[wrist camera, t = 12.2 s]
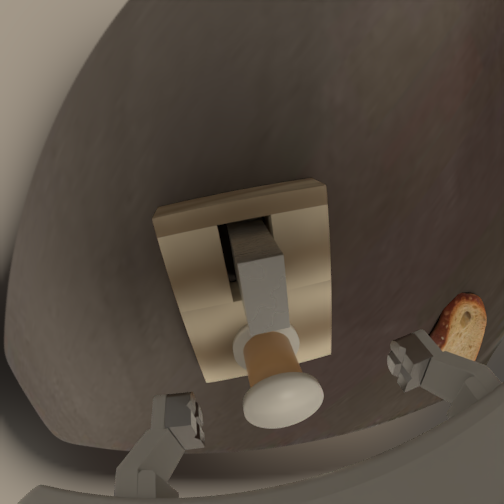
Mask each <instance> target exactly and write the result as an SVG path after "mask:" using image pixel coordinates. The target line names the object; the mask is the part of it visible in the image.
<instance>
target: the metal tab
mask: <svg viewBox="0 0 504 504" xmlns="http://www.w3.org/2000/svg"><path fill="white" fill-rule="evenodd" d="M226 225H227V231H228V236H229V242H230V247H231V253H232V258H233V264H234V269H235V275H236V279H237V283H238V287H239V292H240V296H241V300H242V304H243V308H244V312H245V316H246V320H247V324H248V328H249V332H250V336H252V335H257V334H262V333H267V332H271V331H276V330H280V329H285V328H289V327H290V320H289V308H288V296H287V285H286V274H285V264H284V255H283V253H282V251H281V250H280V248H279V247H278V245H277V243H276V242H275V240H274V239H273V237H272V235H271V234H270V232H269V231H268V229H267V227H266V226H265V224H264V223H263V221H262V219H261V218H260V217H256V218H251V219H246V220H241V221H236V222H231V223H226Z"/></svg>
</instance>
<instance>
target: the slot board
mask: <svg viewBox="0 0 504 504" xmlns="http://www.w3.org/2000/svg"><path fill="white" fill-rule="evenodd" d="M261 216H264V218H265V225H266V227H267V229H268V231H269V232H270V234H271V235H272V237H273V239H274V240H275V242H276V243H277V245H278V247H279V248H280V250H281V251H282V253H283V255H284V264H285V274H286V285H287V296H288V308H289V320H290V324H291V325H292V326H293V327H294V329H295V331H296V333H297V335H298V337H299V342H300V343H299V349H298V352H297V354H296V355H295V356H296V358H297V361H298V363H301V362H305V361H309V360H312V359H316V358H319V357H323V356H326V355H330V354H331V258H330V235H329V217H328V202H327V189H326V185H325V184H323V183H321V182H319V181H317V180H315V179H313V178H306V179H300V180H293V181H287V182H281V183H275V184H269V185H263V186H258V187H252V188H247V189H241V190H236V191H231V192H226V193H221V194H216V195H211V196H206V197H201V198H196V199H192V200H187V201H182V202H178V203H173V204H169V205H165V206H160V207H158V208H157V210H156V212H155V214H154V216H153V218H152V221H153V225H154V228H155V232H156V236H157V239H158V243H159V246H160V250H161V253H162V256H163V260H164V263H165V266H166V270H167V273H168V276H169V279H170V283H171V286H172V289H173V292H174V295H175V298H176V301H177V304H178V307H179V310H180V313H181V316H182V319H183V322H184V324H185V327H186V330H187V333H188V336H189V338H190V341H191V344H192V347H193V349H194V352H195V355H196V357H197V360H198V362H199V365H200V368H201V370H202V373H203V375H204V378H205V380H206V383H209V382H215V381H221V380H226V379H231V378H236V377H241V376H246V375H248V374H247V370H246V369H244V368H242V367H241V366H240V365H239V364H238V363H237V362H236V360H235V358H234V353H233V348H232V347H233V340H234V337H235V336H236V334H237V333H238V331H239V330H240V329H241V328H242V327H244V326H245V325H246V324H247V320H246V316H245V312H244V308H243V304H242V300H241V296H240V292H239V287H238V283H237V281H235V282H231V283H230V282H229V278H228V273H227V269H226V264H225V259H224V255H223V250H222V245H221V240H220V235H219V230H218V226H217V225H221V224H226V223H231V222H236V221H241V220H246V219H251V218H256V217H261Z"/></svg>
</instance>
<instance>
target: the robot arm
mask: <svg viewBox="0 0 504 504" xmlns="http://www.w3.org/2000/svg"><path fill="white" fill-rule="evenodd" d="M390 348H391V352H390V353H389V354H388V358H387V362H388V367H389V370H390V371H391V373H392V375H395V376H397V377H398V380H397V382H398V384H399V385H400V387H401V388H402V390H403V391H404V392H407V391H409V390H411V389H414V388H416V387H418V386H420V387H422V388H424V389H426V390H427V391H429V392H431V393H433V394H435V395H436V396H438V397H440V398H442V399H444V400H446V401H447V402H449V403H451V404H452V405H451V407H450V408H449V410H448V412H447V416H448V418H449V419H448V420H447V421H445V422H443V423H441V424H440V425H438V426H436V427H434V428H432V429H431V430H429V431H427V432H425V433H423V434H421V435H419V436H417V437H416V438H413V439H411V440H409V441H407V442H405V443H403V444H401V445H399V446H397V447H394V448H392V449H390V450H388V451H385V452H383V453H381V454H378V455H376V456H374V457H371V458H368V459H366V460H363V461H361V462H358V463H355V464H352V465H350V466H347V467H344V468H341V469H338V470H335V471H332V472H328V473H326V474H322V475H318V476H315V477H311V478H308V479H304V480H301V481H296V482H293V483H288V484H284V485H279V486H275V487H270V488H265V489H259V490H253V491H247V492H241V493H234V494H226V495H217V496H207V497H193V498H192V497H191V498H179V494H178V492H177V491H176V490H175V489H173V488H172V487H171V486H170V485H169V484H167V481H168V480H169V478H170V476H171V475H172V473H173V471H174V469H175V467H176V466H177V464H178V462H179V460H180V458H181V457H182V455H183V453H184V450H187V449H195V448H203V447H205V440H204V433H203V431H202V429H201V427H202V426H203V417H202V412H201V409H200V406H199V404H198V403H197V402H195V396H194V394H193V392H185V393H176V394H166V395H155V396H154V398H153V407H152V420H151V429H150V430H147V431H146V432H145V433H144V435H143V436H142V437H141V439H140V440H139V441H138V442H137V444H136V445H135V446H134V447H133V449H132V450H131V451H130V452H129V454H128V455H127V456H126V458H125V459H124V460H123V461H122V462H121V464H120V465H119V466H118V467H117V469H116V478H115V490H114V496H105V495H96V494H88V493H82V492H75V491H70V490H64V489H59V488H54V487H50V486H46V485H39V486H37V487H35V488H34V489H32V490H31V491H30V492H29V493H28V494H27V495H26V496H25V497H24V498H23V499H21V500H20V501H19V502H18V504H504V382H503V383H501V382H500V381H499V379H498V378H497V377H496V376H495V375H494V374H493V372H492V371H491V370H490V369H489V368H488V367H487V366H486V365H483V364H481V363H478V362H475V361H472V360H469V359H467V358H464V357H461V356H458V355H456V354H453V353H450V352H447V351H444V352H443V351H442V350H441V349H440V348H439V347H438V346H437V344H436V343H435V342H434V341H433V340H432V339H431V338H430V337H429V335H428V334H427V333H426V332H425V331H424V330H422V329H421V330H418V331H416V332H413V333H410V334H408V335H405V336H403V337H400V338H398V339H395V340H393V341H392V342H391V344H390Z"/></svg>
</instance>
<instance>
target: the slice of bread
mask: <svg viewBox="0 0 504 504" xmlns="http://www.w3.org/2000/svg"><path fill="white" fill-rule="evenodd" d="M486 320H487V318H486V312H485V308H484V305H483V302H482V300H481V298H480V297H479V296H477V295H475V294H472V293H460V294H459V295H457V296H456V297H455V298H454V299H453V300H452V301H451V302H450V303H449V304H448V305H447V306H446V307H445V308H444V310H443V311H442V313H441V315H440V318H439V321H438V323H437V325H436V326H435V328H434V330H433V331H432V333H431V334H430V336H429V337H430V338H431V339H432V340H433V341H434V342H435V343H436V344H437V346H438V347H439V348H440V349H441V350H442V351H443V352H444V351H447V352H450V353H453V354H456V355H458V356H461V357H464V358H467V359H469V360H472V361H475V360H476V357H477V355H478V352H479V349H480V346H481V342H482V338H483V335H484V331H485V326H486Z"/></svg>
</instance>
